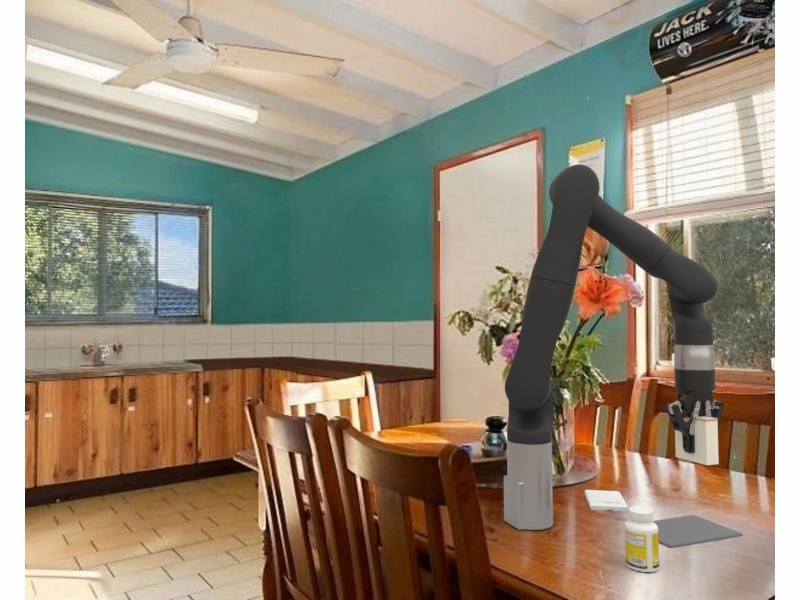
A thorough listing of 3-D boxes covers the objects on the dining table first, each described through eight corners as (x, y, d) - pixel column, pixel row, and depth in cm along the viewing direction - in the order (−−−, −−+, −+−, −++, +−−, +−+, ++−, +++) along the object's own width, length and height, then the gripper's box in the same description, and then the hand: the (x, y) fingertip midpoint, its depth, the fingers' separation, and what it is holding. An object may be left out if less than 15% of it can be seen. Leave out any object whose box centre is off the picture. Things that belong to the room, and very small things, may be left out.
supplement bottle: (650, 560, 106) (649, 504, 106) (665, 573, 100) (664, 514, 101) (620, 561, 106) (619, 505, 106) (633, 574, 100) (632, 515, 101)
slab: (707, 465, 118) (705, 419, 118) (675, 456, 125) (674, 413, 125) (718, 464, 119) (717, 418, 119) (686, 455, 126) (685, 412, 126)
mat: (670, 547, 111) (670, 545, 111) (625, 527, 123) (625, 525, 123) (742, 535, 118) (742, 533, 118) (693, 516, 129) (693, 514, 129)
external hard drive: (619, 498, 145) (629, 514, 132) (584, 496, 146) (590, 512, 134) (619, 491, 145) (629, 507, 132) (584, 489, 146) (590, 505, 134)
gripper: (681, 369, 117) (683, 458, 116) (735, 367, 121) (738, 452, 121) (653, 366, 124) (655, 450, 123) (705, 364, 128) (707, 445, 128)
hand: (696, 451), depth 122 cm, fingers closed on slab, 3 cm apart
